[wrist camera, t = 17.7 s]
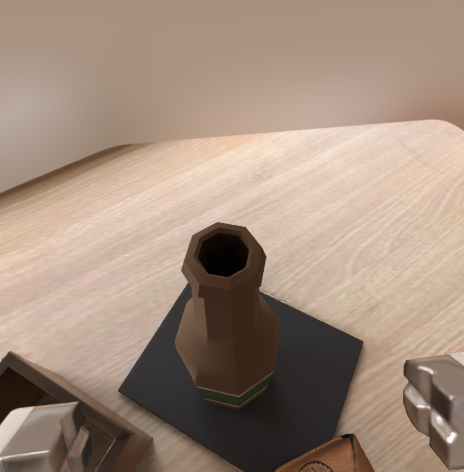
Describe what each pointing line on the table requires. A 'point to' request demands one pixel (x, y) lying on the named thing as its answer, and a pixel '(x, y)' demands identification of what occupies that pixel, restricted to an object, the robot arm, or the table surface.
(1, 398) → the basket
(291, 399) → the mat
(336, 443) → the sunglasses case
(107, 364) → the table surface
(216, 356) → the beer bottle
